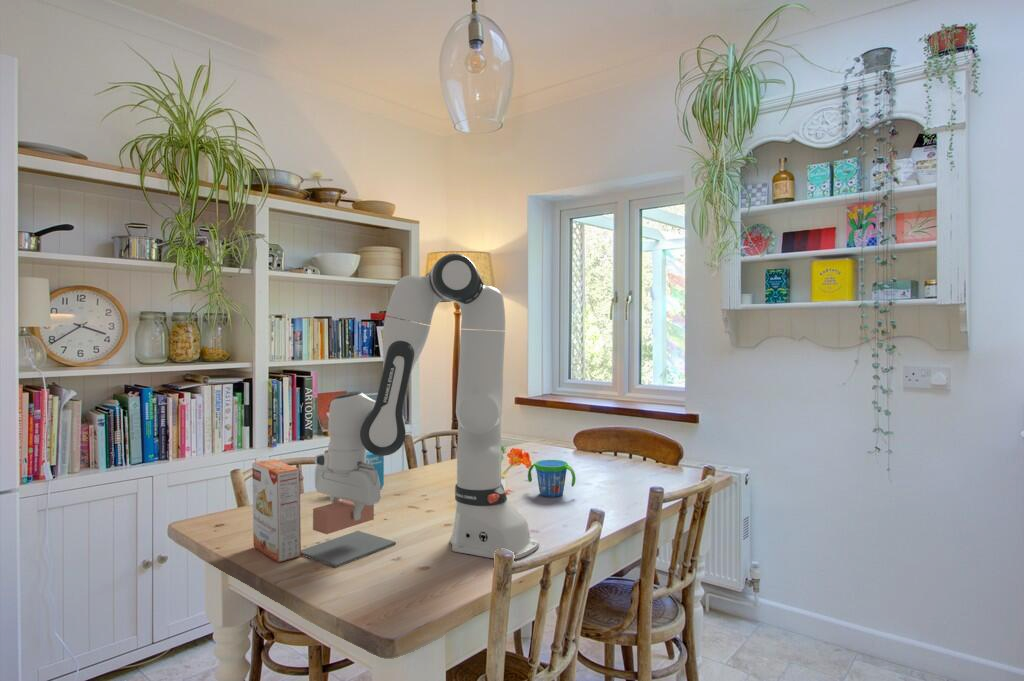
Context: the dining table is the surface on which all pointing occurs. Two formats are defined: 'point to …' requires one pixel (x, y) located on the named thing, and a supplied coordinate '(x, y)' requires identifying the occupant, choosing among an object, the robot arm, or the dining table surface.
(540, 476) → the snack cup
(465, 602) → the dining table surface
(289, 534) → the cracker box
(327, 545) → the mat
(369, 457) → the data package
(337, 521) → the block
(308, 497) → the dining table surface
